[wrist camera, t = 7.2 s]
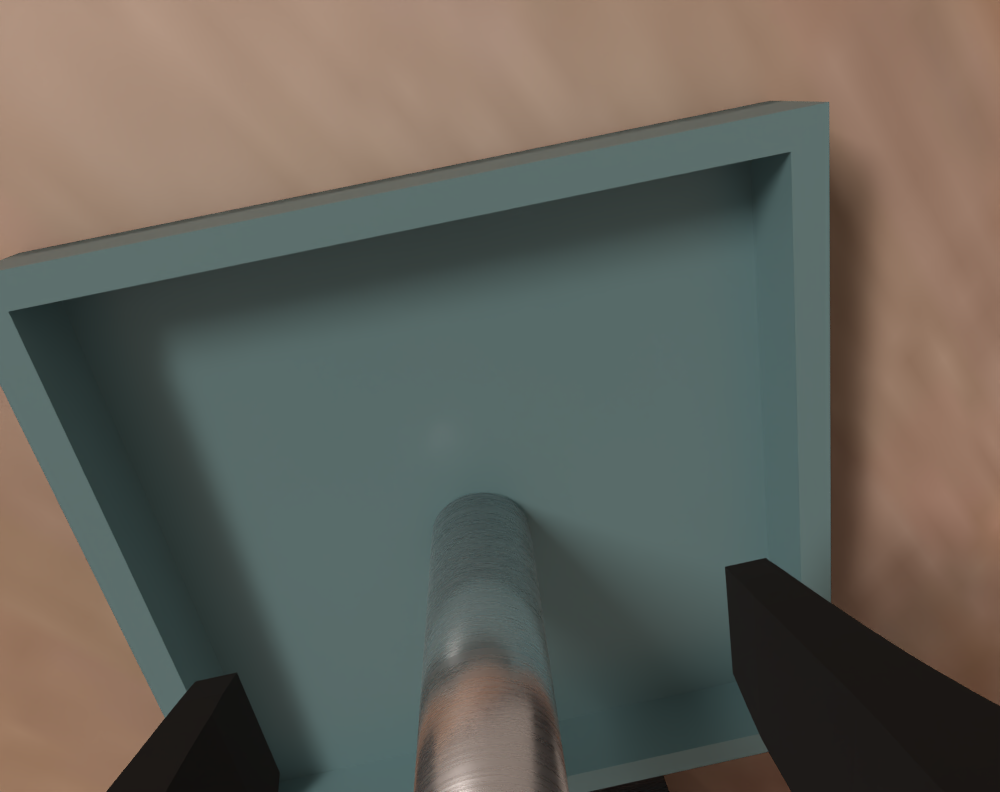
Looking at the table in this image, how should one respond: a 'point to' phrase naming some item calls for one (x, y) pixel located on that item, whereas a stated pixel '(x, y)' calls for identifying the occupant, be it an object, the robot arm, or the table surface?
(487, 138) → the table surface
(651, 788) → the block
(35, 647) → the table surface
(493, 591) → the steel pin
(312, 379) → the tray
